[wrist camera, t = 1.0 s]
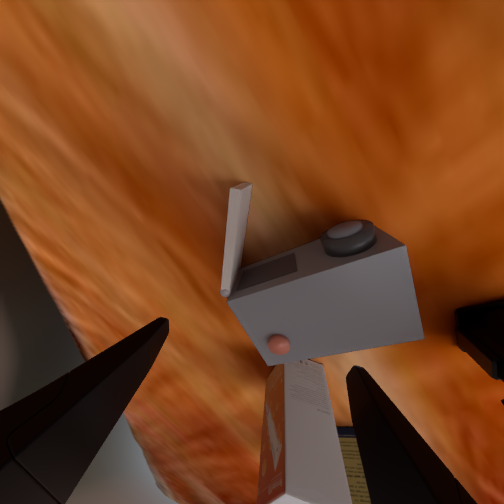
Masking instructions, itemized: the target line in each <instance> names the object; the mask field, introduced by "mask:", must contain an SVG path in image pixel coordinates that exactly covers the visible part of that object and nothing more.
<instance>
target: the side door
mask: <svg viewBox="0 0 504 504" xmlns="http://www.w3.org/2000/svg"><path fill="white" fill-rule="evenodd" d="M251 191H252V183H246V182H244V183H241V184H239V185H236V186H234V187H231V188H230V194H229V205H228V216H227V227H226V238H225V249H224V260H223V271H222V282H221V291H220V294H221V296H223V297H228V296H229V295H230V292H231V290H232V287H233V285H234V282H235V280H236V278H237V275H238V273H239V270H240V268H241V265H242V264H241V262H242V255H243V248H244V241H245V234H246V227H247V220H248V212H249V205H250V198H251Z"/></svg>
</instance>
